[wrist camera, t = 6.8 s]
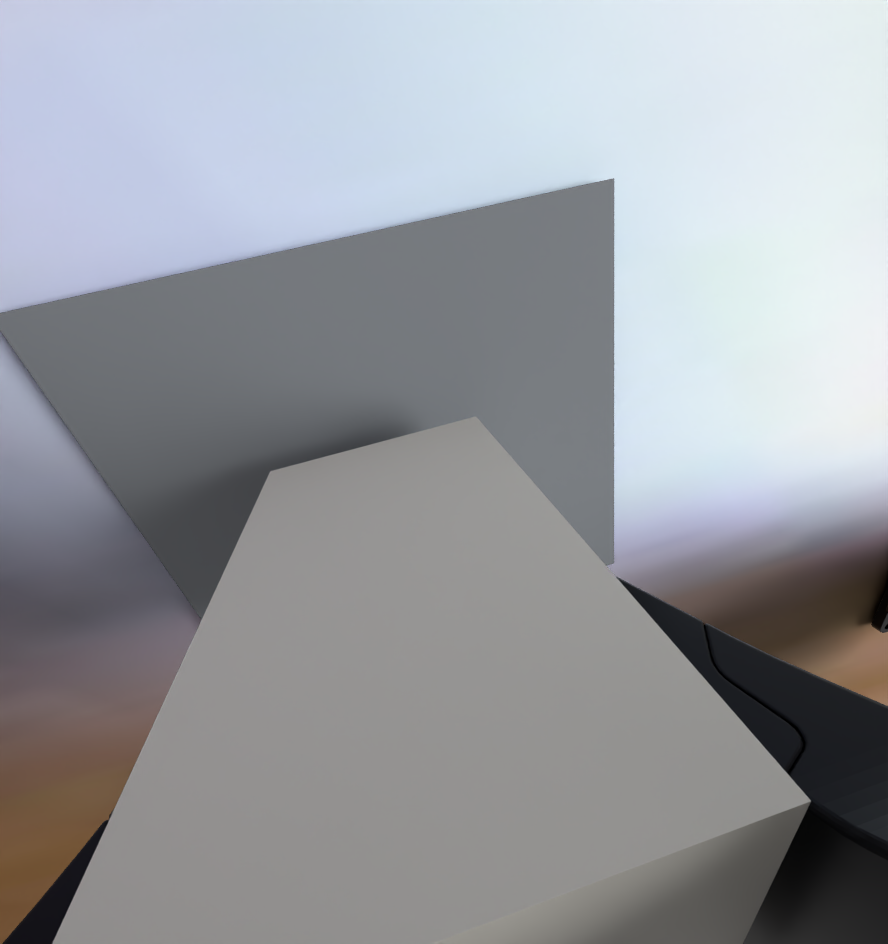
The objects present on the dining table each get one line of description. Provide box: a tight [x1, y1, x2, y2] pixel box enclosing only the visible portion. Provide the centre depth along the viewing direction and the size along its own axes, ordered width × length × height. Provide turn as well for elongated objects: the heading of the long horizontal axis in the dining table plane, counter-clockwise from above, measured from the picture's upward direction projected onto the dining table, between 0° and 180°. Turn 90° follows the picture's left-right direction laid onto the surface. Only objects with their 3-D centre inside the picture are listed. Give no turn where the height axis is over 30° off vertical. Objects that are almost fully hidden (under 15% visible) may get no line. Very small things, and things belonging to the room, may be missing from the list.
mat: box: [0, 179, 614, 620], centre depth 12 cm, size 14×12×1 cm
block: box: [52, 417, 811, 944], centre depth 7 cm, size 5×5×8 cm
